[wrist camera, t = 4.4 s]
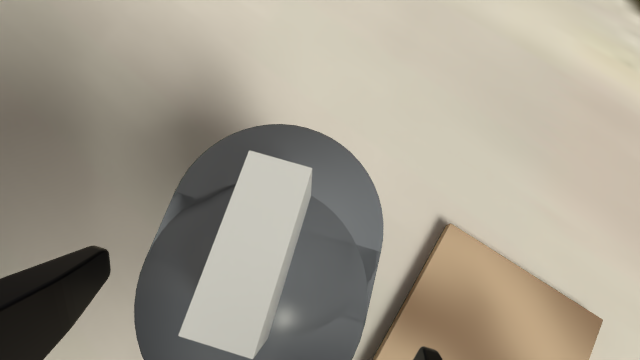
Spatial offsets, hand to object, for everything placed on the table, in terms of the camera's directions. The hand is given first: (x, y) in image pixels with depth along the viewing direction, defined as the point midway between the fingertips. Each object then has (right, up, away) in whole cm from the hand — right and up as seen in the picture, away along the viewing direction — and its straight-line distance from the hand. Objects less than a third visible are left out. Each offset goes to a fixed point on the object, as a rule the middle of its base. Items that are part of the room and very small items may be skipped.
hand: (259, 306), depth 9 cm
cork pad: (+9, -6, +8) cm, 14 cm away
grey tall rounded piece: (0, -2, +9) cm, 9 cm away
